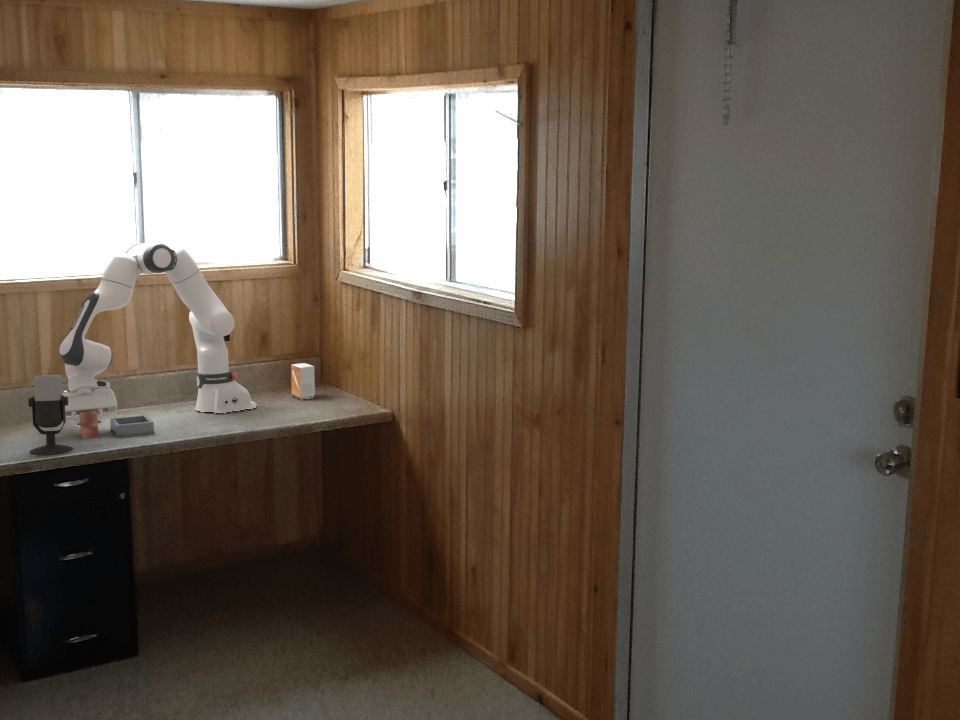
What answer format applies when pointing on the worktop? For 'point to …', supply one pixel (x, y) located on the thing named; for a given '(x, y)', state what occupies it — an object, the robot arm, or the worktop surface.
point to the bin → (131, 425)
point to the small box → (303, 380)
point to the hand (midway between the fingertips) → (88, 423)
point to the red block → (89, 424)
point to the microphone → (48, 413)
